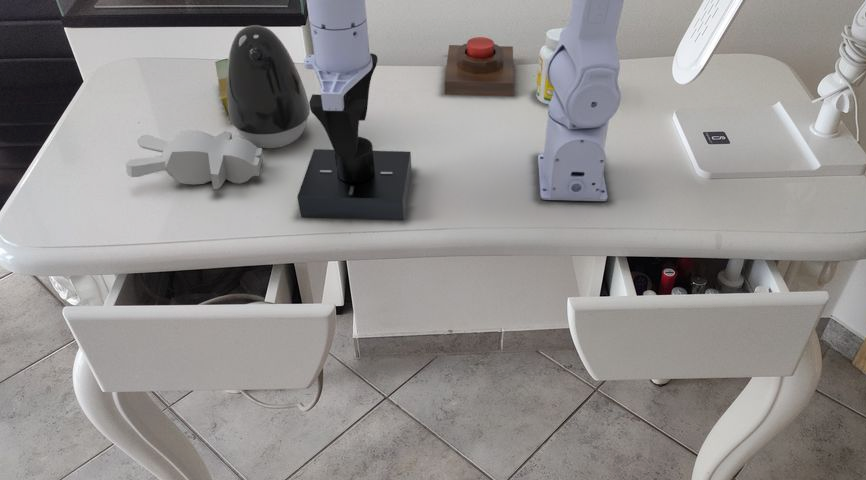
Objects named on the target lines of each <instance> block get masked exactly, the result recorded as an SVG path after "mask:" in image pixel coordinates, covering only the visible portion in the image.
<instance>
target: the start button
mask: <svg viewBox="0 0 866 480" xmlns="http://www.w3.org/2000/svg"><path fill="white" fill-rule="evenodd" d="M466 44H467V55H468V56H469V57H472V58H476V59H485V58H490V57H492V56H493V55H494V44H495V42H494V40H493V39H491V38H489V37H485V36H476V37H472V38H469V39H468V40H467V42H466Z"/></svg>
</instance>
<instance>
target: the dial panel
mask: <svg viewBox="0 0 866 480" xmlns="http://www.w3.org/2000/svg"><path fill="white" fill-rule="evenodd" d="M373 157H374V168H375V173H374V175H373V177H372V178H370V179H369V180H367V181H364V182H361V183H348V182H345V181H343V180H341V179H340V178H339V177H338V175H337V168H336V161H335V153H334V149H328V148H327V149H326V148H324V149H323V148H314V149H313V151H312V154H311V157H310V160H309V162H308V165H307V168H306V170H305V174H304V176H303V179H302V182H301V185H300V188H299V191H298V192H297V193H298V194H297V197H296V199H297V202H298V208H299V213H300V217H301V218H312V219H313V218H314V219H347V220H377V221H379V220H380V221H383V220H384V221H385V220H386V221H404V220H405V216H406V209H407V204H408V197H409V192H410V191H409V190H410V186H411V178H412V172H413V168H412V167H413V166H412V152H411V151H402V150H399V151H398V150H373Z"/></svg>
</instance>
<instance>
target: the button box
mask: <svg viewBox="0 0 866 480" xmlns="http://www.w3.org/2000/svg"><path fill="white" fill-rule="evenodd" d="M444 74H445V75H444V95H449V96H453V95H454V96H485V97H486V96H488V97H489V96H490V97H491V96H492V97H514V85H515V77H514V46H512V45H511V46H510V45H509V46H508V45H506V46H505V45H504V46H503V45H498V44H496V43H494V55H493V56H492V57H490V58H485V59H476V58H472V57H469V56H468V55H467V43H463V44H449V45H448V51H447V59H446V67H445V73H444Z"/></svg>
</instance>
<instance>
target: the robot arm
mask: <svg viewBox="0 0 866 480" xmlns="http://www.w3.org/2000/svg"><path fill="white" fill-rule="evenodd" d="M624 2H625V0H572V4H571V10H570V16H569V21H568V25H566V27H564V28H563V30H562V32H561V33H560V38H559V43H558V46H557V48H556V50H555V51H554V53H553V54H552V55H551V57H550V59H549V61H548V64H547V69H546V71H547V78H548V80H549V82H550V84H551V85H552V86H553V87H554V94H553V96H552V99H551V101H550V103H549V105H548V107H547V116H546V118H547V119H546V126H545V127H546V129H545V140H544V149H543V153H539V154H538V155H537V156H538V157H537V164H538V166H537V167H538V176H539V177H538V180H539V181H538V182H539V193H540V194H539V196H540V199H541V200H543V201H544V200H545V201H580V202H607V200H608V197H609V195H608V192H607V185H606V181H605V175H604V170H605V164H606V158H607V157H606V156H607V155H606V149H605V148H606V142H607V135H608V129H609V123H610V121H611V119H612V118H613V117H614V116H615V115H616V113H617V111H618V110H619V108H620V104H621V100H622V94H621V89H620V86H619V75H620V70H621V69H620V67H621V66H620V65H621V63H620V57H619V51H618V44H617V33H618V29H619V24H620V20H621V17H622V16H621V15H622V10H623V7H624V6H623V5H624ZM306 7H307V14H308V15H307V16H308V21H309V27H310V35H311V41H312V50H313V54H308V55H306V56H305V58H304V60H303V65H304V69H306V70H313V71H314V72H315V74H316V79H317V80H318V83H319V86H320V88H321V91H320V94H312V95H311V96H310V99H309V101H308V102H309V108H310V112H311V114H312V115H313V116H315V118H316V119H317V120H318V121H319V122H320V124H321V125H322V127H323V128H324V131H325V132H326V134H327V137H328V139H329V141H330V144H331V147H332V150H334V151H335V153H336V155H337V156H343V157H354V156H355V154H356V150H357V145H358V137H359V126H360V121H362V122H363V121H366V117H367V115H368V107H369V106H368V105H369V97H370V96H369V95H370V87H371V82H372V76H373V74H374V71H375V69H376V68H377V65H378V55H376V53H371V51H370V40H369V28H368V17H367V7H366V0H306Z"/></svg>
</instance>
